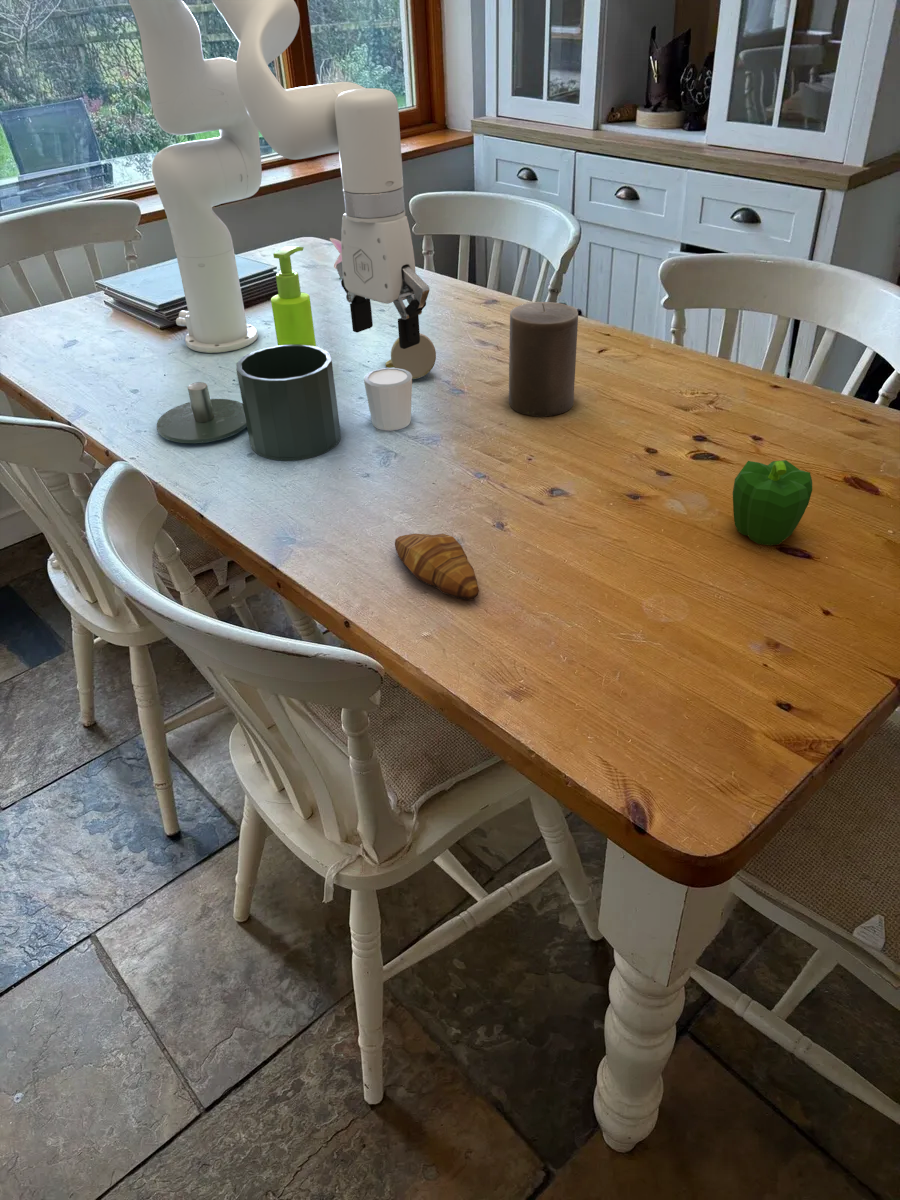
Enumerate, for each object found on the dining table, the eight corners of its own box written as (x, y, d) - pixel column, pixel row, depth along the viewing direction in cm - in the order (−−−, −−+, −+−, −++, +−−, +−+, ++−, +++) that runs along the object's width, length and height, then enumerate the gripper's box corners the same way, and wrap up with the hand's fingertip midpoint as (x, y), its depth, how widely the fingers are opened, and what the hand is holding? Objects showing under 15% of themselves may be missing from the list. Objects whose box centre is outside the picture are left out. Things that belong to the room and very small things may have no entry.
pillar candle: (530, 422, 125) (533, 319, 116) (496, 398, 132) (496, 299, 123) (586, 407, 129) (593, 306, 120) (550, 384, 136) (554, 287, 127)
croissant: (500, 590, 93) (500, 552, 90) (451, 616, 90) (449, 577, 87) (423, 538, 102) (421, 502, 99) (376, 560, 99) (372, 523, 96)
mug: (430, 356, 147) (442, 314, 138) (425, 402, 143) (437, 361, 134) (387, 347, 146) (396, 304, 137) (380, 393, 142) (389, 352, 133)
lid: (142, 444, 124) (131, 403, 120) (182, 404, 134) (173, 365, 131) (232, 449, 122) (223, 408, 118) (265, 408, 132) (259, 369, 128)
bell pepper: (736, 508, 105) (750, 432, 99) (806, 524, 102) (826, 447, 96) (715, 542, 100) (729, 464, 94) (789, 561, 96) (809, 481, 90)
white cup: (421, 414, 129) (419, 369, 124) (404, 435, 124) (401, 388, 119) (378, 409, 131) (374, 364, 126) (360, 429, 125) (355, 383, 121)
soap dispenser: (330, 372, 142) (314, 245, 130) (307, 388, 137) (289, 258, 125) (299, 367, 144) (281, 241, 132) (276, 383, 140) (255, 254, 127)
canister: (237, 458, 120) (221, 378, 113) (269, 417, 130) (256, 342, 123) (325, 463, 118) (314, 383, 111) (350, 422, 127) (342, 345, 121)
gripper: (308, 200, 112) (325, 331, 122) (398, 219, 102) (408, 360, 112) (353, 189, 116) (366, 317, 126) (444, 207, 106) (449, 344, 116)
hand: (386, 337), depth 119 cm, fingers open, 9 cm apart
